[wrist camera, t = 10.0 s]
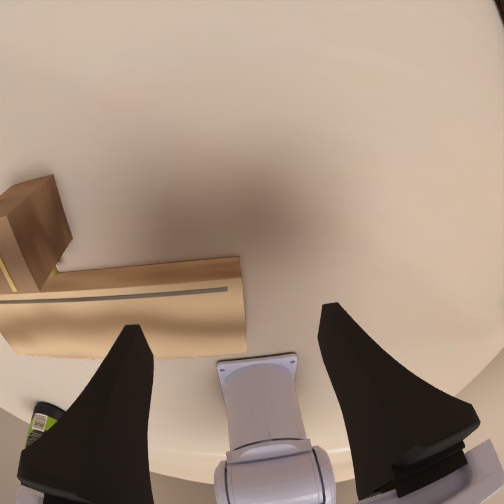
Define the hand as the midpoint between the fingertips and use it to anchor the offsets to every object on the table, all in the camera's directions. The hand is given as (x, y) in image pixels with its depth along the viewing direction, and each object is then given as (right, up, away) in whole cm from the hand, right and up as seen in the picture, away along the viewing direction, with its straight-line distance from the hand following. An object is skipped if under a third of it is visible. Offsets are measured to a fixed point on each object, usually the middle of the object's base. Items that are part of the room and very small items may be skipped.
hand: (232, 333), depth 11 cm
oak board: (-12, -2, +11) cm, 17 cm away
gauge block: (-14, +6, +6) cm, 17 cm away
